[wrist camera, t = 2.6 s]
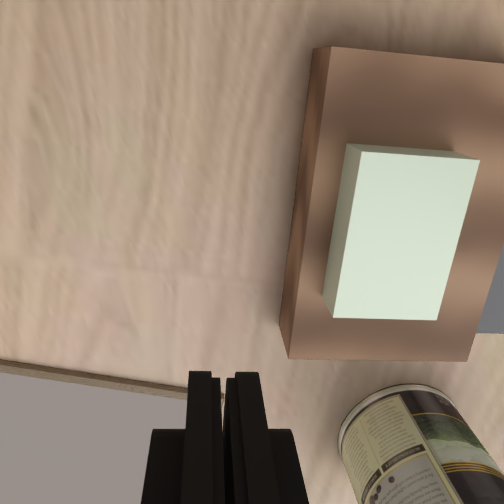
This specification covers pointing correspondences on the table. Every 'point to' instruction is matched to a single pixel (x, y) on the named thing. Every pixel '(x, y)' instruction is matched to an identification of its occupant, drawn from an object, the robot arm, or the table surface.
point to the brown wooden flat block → (395, 135)
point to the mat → (494, 302)
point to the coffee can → (416, 451)
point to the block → (396, 231)
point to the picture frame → (79, 434)
